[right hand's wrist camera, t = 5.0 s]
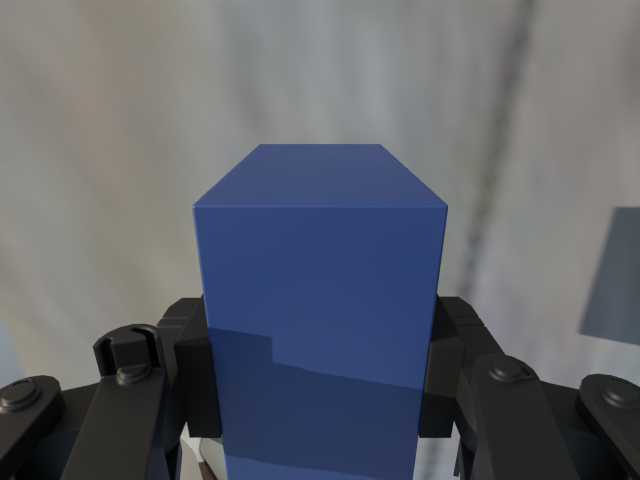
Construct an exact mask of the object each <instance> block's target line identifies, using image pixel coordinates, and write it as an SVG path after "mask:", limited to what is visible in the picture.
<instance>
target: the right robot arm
mask: <svg viewBox="0 0 640 480" xmlns="http://www.w3.org/2000/svg"><path fill="white" fill-rule="evenodd" d="M93 349H94V353H95V356H96V360H97V364H98V368H99V371H100V375H101V380H100V382H98V383H95V384H91V385H87V386H83V387H78V388H74V389H69V390H64V391H62V390H61V387H60V384H59V381H58V380H56V379H55V378H54V377H51V376H45V375H41V376H33V377H28V378H24V379H22V380H18V381H16V382H13V383H11V384H9V385H8V386H5V387H3V388H1V389H0V480H180V471H181V461H182V448H181V442H180V436H181V434H182V431H183V429H184V426H185V424H186V421H187V426H188V432H189V438H221V435H222V431H221V424H220V416H219V408H218V400H217V393H216V385H215V377H214V370H213V362H212V354H211V346H210V340H209V333H208V325H207V317H206V310H205V302H204V294H202V296H201V298H181V299H180V300H179V301H177V302H176V303H174V304H173V305H171V306H170V307H169V308H168V310H167V311H166V312H165V314H164V315H163V317H162V319H161V320H160V321H159V323H158V324H157V325H156V327H155V326H152V325H148V324H132V325H128V326H123V327H120V328H117V329H115V330H113V331H110V332H108V333H107V334H105V335H104V336H102V337H101V338H99V339H98V341H97V342H96V343H95V344H94V346H93ZM453 422H455V424H456V426H457V429H458V431H459V434H460V436H461V437H460V442H459V447H458V453H457V458H456V463H455V469H454V476H456V477H458V476H459V471H460V480H640V387H639V386H637V385H635V384H633V383H631V382H629V381H627V380H624V379H622V378H618V377H615V376H612V375H604V374H593V375H587V376H586V377H585V378H584V379H583V380H582V382H581V385H580V388H579V389H574V388H569V387H565V386H560V385H556V384H551V383H547V382H544V381H540V379H539V377H538V376H537V374H536V373H535V371H534V370H533V369H532V368H531V367H529V366H528V365H527V364H526V363H524V362H523V361H520V360H518V359H516V358H514V357H512V356H508V355H505V353H504V352H503V351H502V349H501V348H500V346H499V345H498V343H497V342H496V341H495V339H494V338H493V336H492V335H491V333H490V332H489V331H488V329H487V328H486V327H484V323H483V322H482V321H481V319H480V318H478V315H477V313H476V312H475V311H474V309H473V308H472V306H471V305H469V304H468V303H467V302H465V301H464V300H462V299H461V298H459V297H439V296H438V294H437V296H436V304H435V311H434V319H433V327H432V334H431V341H430V348H429V356H428V364H427V371H426V379H425V387H424V395H423V402H422V410H421V418H420V425H419V433H418V434H419V437H420V438H451V434H452V428H453Z"/></svg>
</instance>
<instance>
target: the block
mask: <svg viewBox="0 0 640 480" xmlns="http://www.w3.org/2000/svg"><path fill="white" fill-rule="evenodd" d="M192 210H193V217H194V225H195V233H196V240H197V248H198V256H199V263H200V271H201V279H202V286H203V294H204V302H205V310H206V317H207V325H208V333H209V340H210V346H211V354H212V362H213V370H214V377H215V385H216V393H217V400H218V408H219V416H220V424H221V431H222V440H223V448H224V456H225V463H226V471H227V479H228V480H413V473H414V465H415V457H416V449H417V442H418V433H419V425H420V418H421V410H422V402H423V395H424V387H425V379H426V371H427V364H428V356H429V348H430V341H431V334H432V327H433V319H434V311H435V304H436V296H437V288H438V281H439V273H440V265H441V258H442V250H443V242H444V235H445V227H446V219H447V212H448V206H447V204H446V203H445V202H444V201H442V200H441V199H440V198H439V197H438V196H437V195H436V194H435V193H434V192H433V191H431V190H430V189H429V188H428V187H427V186H426V185H425V184H424V183H423V182H421V181H420V180H419V179H418V178H417V177H416V176H415V175H414V174H413V173H411V172H410V171H409V170H408V169H407V168H406V167H405V166H404V165H403V164H402V163H400V162H399V161H398V160H397V159H396V158H395V157H394V156H393V155H392V154H390V153H389V152H388V151H387V150H386V149H385V148H384V147H383V146H382V145H380V144H260V145H259V146H257V147H256V148H255V149H254V150H253V151H252V152H251V153H250V154H249V155H247V156H246V157H245V158H244V159H243V160H242V161H241V162H240V163H239V164H238V165H236V166H235V167H234V168H233V169H232V170H231V171H230V172H229V173H228V174H226V175H225V176H224V177H223V178H222V179H221V180H220V181H219V182H218V183H217V184H215V185H214V186H213V187H212V188H211V189H210V190H209V191H208V192H207V193H206V194H204V195H203V196H202V197H201V198H200V199H199V200H198V201H197V202H196V203H194V204H193V207H192Z"/></svg>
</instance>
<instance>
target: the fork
mask: <svg viewBox="0 0 640 480" xmlns="http://www.w3.org/2000/svg"><path fill="white" fill-rule="evenodd" d="M181 437H182V438H183V439H184V440H185V441H186V442H187V444H188V445H189V446H190V447H191V448H192V449H193V451H194V453H195V454H196V457H197V460H198V463H199V467H200V470H201V474H202V478H203V480H218V479H217V477H216V476H215V474H214V472H213V471H212V469H211V468H210V466H209V465H208V463H207V462H206V460H205V458H204V457H203V455H202V453H201V450H200V445H201V441H202V438H189V432H188V426H187V421H186V424H185V426H184V429H183V431H182V434H181Z"/></svg>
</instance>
